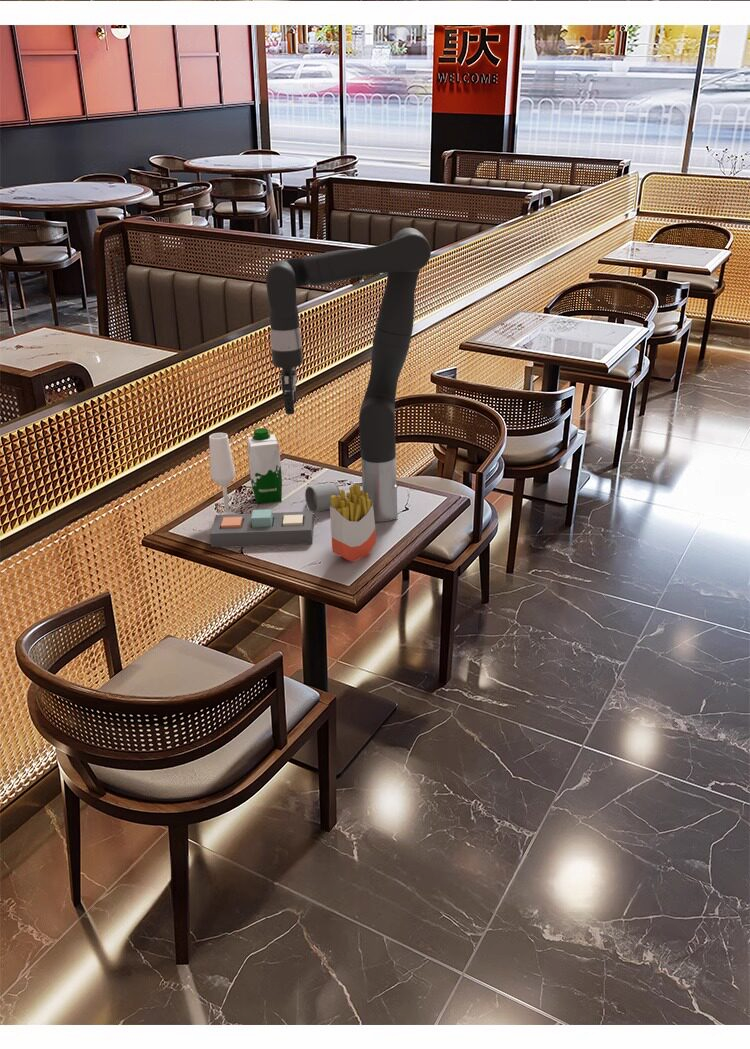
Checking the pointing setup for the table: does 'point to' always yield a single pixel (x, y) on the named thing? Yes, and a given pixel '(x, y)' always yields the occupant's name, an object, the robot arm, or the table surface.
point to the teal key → (262, 518)
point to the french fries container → (352, 524)
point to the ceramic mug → (320, 496)
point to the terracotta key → (231, 522)
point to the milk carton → (265, 467)
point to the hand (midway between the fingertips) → (291, 408)
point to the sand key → (293, 520)
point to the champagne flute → (221, 464)
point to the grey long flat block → (262, 532)
